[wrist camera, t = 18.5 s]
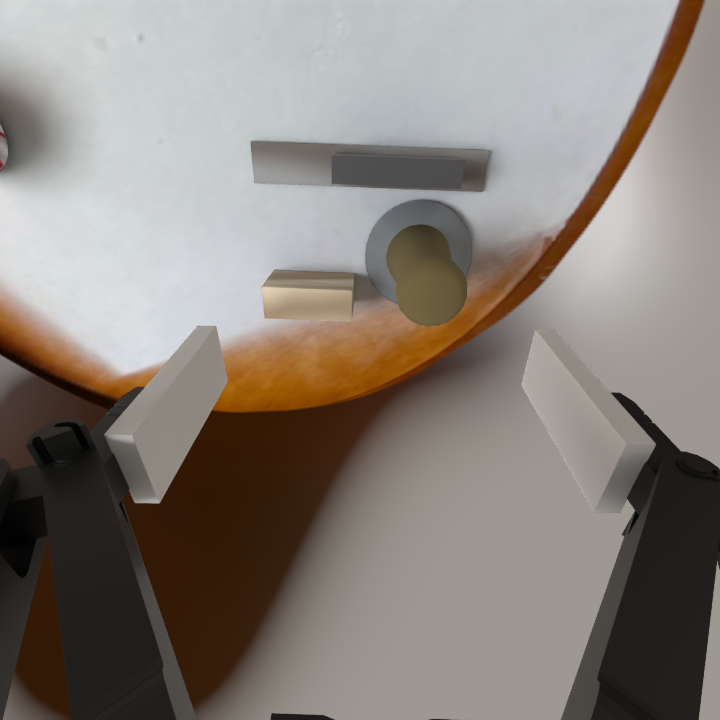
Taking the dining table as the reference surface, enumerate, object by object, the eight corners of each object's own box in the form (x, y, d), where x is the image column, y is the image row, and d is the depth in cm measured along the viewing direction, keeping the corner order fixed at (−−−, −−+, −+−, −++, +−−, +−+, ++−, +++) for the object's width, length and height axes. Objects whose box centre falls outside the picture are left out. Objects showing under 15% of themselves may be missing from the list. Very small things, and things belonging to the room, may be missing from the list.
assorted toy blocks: (252, 141, 33) (233, 142, 29) (487, 150, 33) (505, 152, 29) (266, 298, 40) (253, 317, 36) (461, 306, 40) (471, 326, 36)
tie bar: (335, 153, 33) (331, 154, 29) (455, 157, 33) (465, 159, 29) (335, 179, 34) (331, 184, 30) (451, 183, 34) (460, 189, 30)
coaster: (367, 197, 35) (367, 198, 34) (478, 201, 35) (481, 203, 34) (363, 302, 40) (363, 305, 39) (461, 306, 40) (462, 309, 39)
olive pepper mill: (455, 278, 38) (483, 327, 28) (394, 294, 39) (401, 346, 29) (444, 215, 35) (471, 245, 25) (378, 234, 36) (381, 270, 26)
